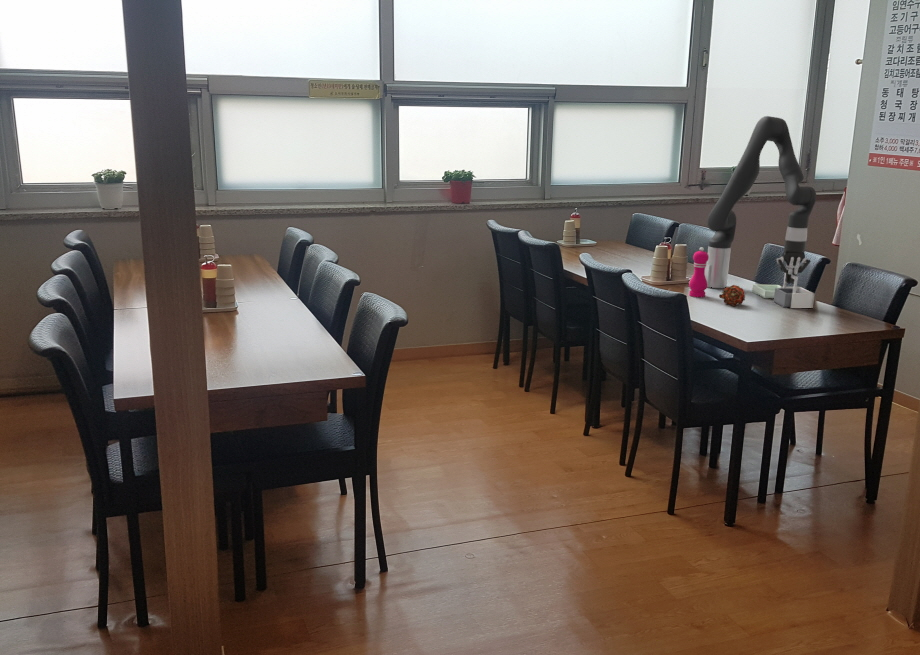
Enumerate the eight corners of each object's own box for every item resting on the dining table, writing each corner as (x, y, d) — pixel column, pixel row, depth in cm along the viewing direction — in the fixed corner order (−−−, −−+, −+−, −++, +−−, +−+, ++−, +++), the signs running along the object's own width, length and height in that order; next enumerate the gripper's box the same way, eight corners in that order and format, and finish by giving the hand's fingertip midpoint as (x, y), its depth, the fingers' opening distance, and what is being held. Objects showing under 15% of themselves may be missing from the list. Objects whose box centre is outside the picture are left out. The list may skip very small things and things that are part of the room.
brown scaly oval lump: (735, 312, 305) (724, 309, 317) (754, 299, 305) (742, 297, 317) (723, 294, 304) (712, 292, 316) (742, 281, 304) (730, 280, 316)
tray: (764, 298, 324) (765, 291, 323) (752, 291, 337) (752, 284, 336) (790, 299, 324) (791, 291, 323) (777, 291, 337) (778, 284, 336)
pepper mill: (704, 294, 329) (709, 246, 324) (707, 298, 322) (712, 248, 317) (686, 293, 330) (691, 245, 325) (689, 297, 323) (694, 248, 318)
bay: (791, 308, 307) (793, 293, 305) (778, 301, 319) (779, 286, 318) (812, 309, 307) (814, 293, 306) (798, 301, 319) (800, 287, 318)
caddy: (783, 307, 308) (787, 276, 305) (773, 301, 318) (777, 271, 315) (801, 307, 308) (805, 277, 305) (790, 301, 318) (794, 272, 315)
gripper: (809, 238, 310) (803, 281, 315) (774, 237, 310) (769, 281, 315) (817, 240, 303) (811, 285, 308) (782, 240, 303) (776, 285, 307)
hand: (790, 283), depth 311 cm, fingers closed on caddy, 1 cm apart
